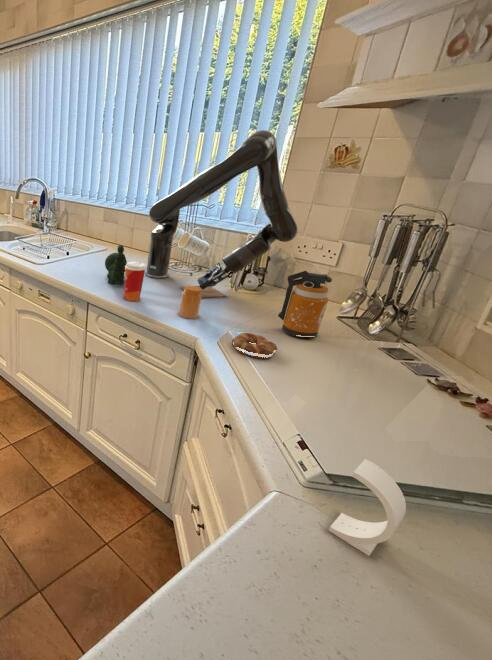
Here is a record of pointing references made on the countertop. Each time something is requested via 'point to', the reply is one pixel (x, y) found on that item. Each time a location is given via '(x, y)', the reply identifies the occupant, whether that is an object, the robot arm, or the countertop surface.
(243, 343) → the pretzel
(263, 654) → the countertop surface
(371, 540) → the headphone stand
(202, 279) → the lid
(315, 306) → the canister
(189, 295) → the jar
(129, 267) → the paper cup
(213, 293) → the mat
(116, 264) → the toy figurine
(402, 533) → the countertop surface
